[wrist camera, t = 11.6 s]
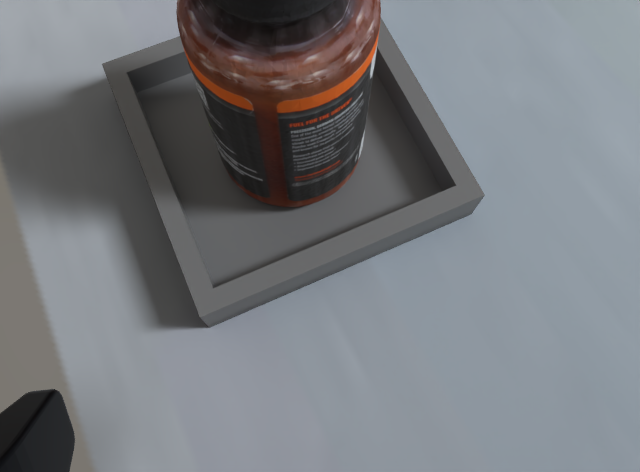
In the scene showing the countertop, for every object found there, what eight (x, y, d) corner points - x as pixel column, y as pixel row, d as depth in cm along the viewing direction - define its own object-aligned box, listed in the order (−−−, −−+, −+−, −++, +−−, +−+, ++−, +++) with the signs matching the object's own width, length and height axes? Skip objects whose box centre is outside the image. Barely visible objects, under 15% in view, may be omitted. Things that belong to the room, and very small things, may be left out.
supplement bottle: (388, 128, 25) (443, -104, 14) (311, 239, 23) (310, 70, 13) (272, 64, 26) (243, -198, 15) (191, 165, 24) (96, -50, 14)
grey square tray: (471, 213, 24) (484, 195, 22) (209, 327, 23) (199, 317, 21) (352, 5, 28) (355, -27, 26) (117, 91, 26) (101, 63, 24)
